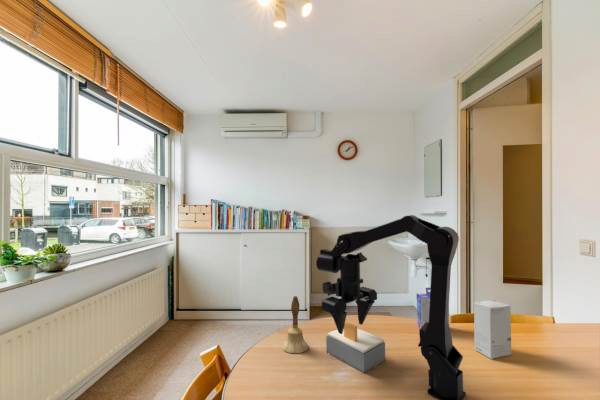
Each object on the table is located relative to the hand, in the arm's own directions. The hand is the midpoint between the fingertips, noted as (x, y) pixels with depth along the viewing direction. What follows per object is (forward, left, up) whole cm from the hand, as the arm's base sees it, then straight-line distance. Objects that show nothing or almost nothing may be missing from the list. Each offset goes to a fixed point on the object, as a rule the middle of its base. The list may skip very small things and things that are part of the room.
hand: (350, 328), depth 84 cm
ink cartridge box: (-7, -37, -9) cm, 39 cm away
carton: (0, -2, -9) cm, 9 cm away
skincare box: (-26, -35, -9) cm, 44 cm away
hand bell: (+16, +8, -9) cm, 20 cm away
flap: (0, -2, -3) cm, 4 cm away
